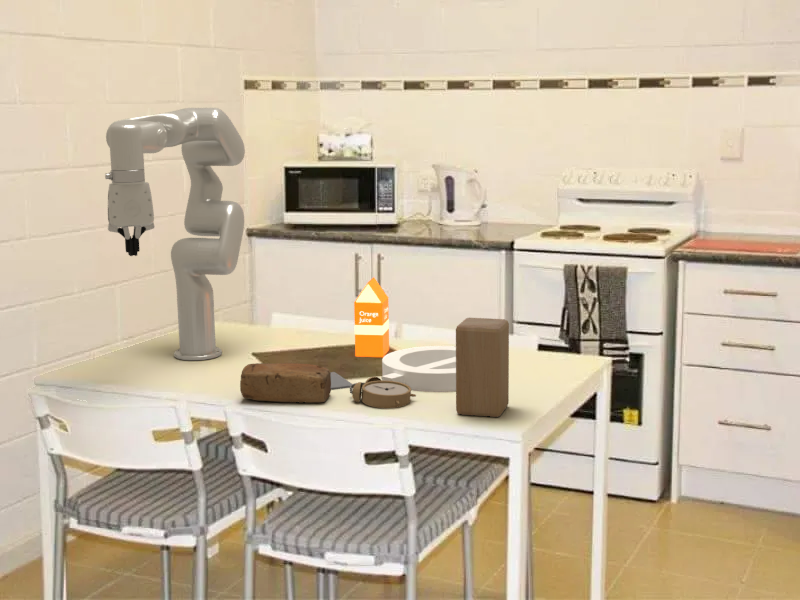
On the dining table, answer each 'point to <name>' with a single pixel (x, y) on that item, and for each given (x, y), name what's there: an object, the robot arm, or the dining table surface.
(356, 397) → the alarm clock
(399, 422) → the dining table surface
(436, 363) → the white circle with bar
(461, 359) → the wooden block
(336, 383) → the mat
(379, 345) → the orange juice
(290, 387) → the block
